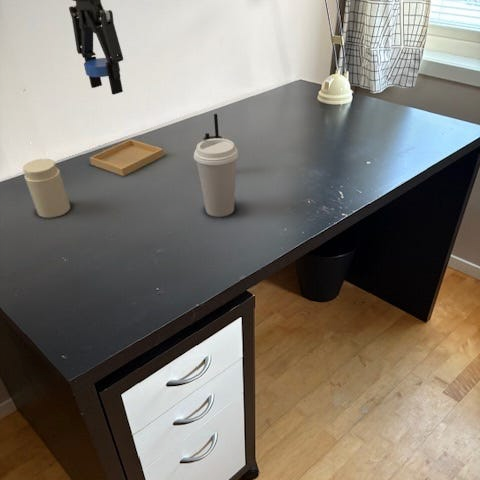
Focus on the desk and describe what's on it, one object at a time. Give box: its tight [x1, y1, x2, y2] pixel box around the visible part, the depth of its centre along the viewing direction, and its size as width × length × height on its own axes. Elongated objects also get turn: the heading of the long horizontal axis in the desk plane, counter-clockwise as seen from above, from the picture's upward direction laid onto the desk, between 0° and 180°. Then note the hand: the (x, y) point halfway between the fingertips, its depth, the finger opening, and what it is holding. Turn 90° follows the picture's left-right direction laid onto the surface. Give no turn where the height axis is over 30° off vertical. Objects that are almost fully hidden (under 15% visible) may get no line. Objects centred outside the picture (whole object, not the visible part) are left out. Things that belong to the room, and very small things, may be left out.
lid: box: [83, 57, 121, 78], centre depth 114 cm, size 8×8×2 cm
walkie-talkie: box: [202, 113, 223, 141], centre depth 119 cm, size 5×3×15 cm
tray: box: [89, 138, 165, 177], centre depth 131 cm, size 13×15×2 cm
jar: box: [22, 158, 71, 219], centre depth 109 cm, size 8×8×11 cm
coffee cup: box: [193, 138, 239, 218], centre depth 105 cm, size 10×10×15 cm
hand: (106, 89), depth 118 cm, fingers closed on lid, 8 cm apart
